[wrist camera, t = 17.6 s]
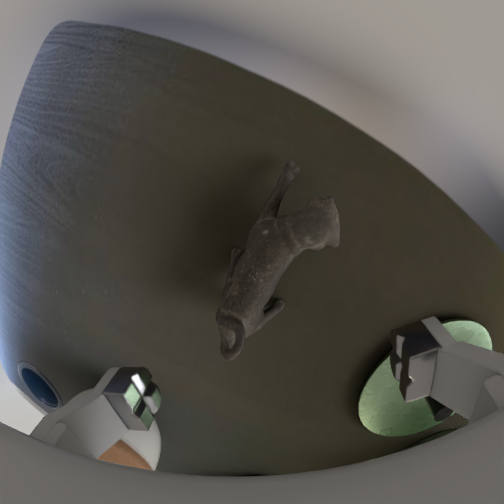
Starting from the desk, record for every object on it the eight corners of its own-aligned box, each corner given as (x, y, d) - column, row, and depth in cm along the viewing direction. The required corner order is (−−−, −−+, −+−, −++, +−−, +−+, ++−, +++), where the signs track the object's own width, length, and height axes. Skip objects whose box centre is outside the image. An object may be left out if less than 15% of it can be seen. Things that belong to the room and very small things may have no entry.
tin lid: (498, 295, 21) (526, 318, 16) (471, 404, 25) (486, 429, 20) (353, 341, 23) (365, 378, 18) (356, 442, 28) (362, 474, 23)
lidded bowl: (194, 419, 28) (167, 497, 18) (146, 446, 32) (120, 504, 21) (104, 351, 27) (49, 417, 16) (74, 392, 30) (34, 444, 20)
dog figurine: (270, 325, 24) (264, 385, 16) (208, 291, 23) (180, 343, 16) (353, 199, 20) (388, 218, 13) (285, 157, 20) (287, 153, 12)
